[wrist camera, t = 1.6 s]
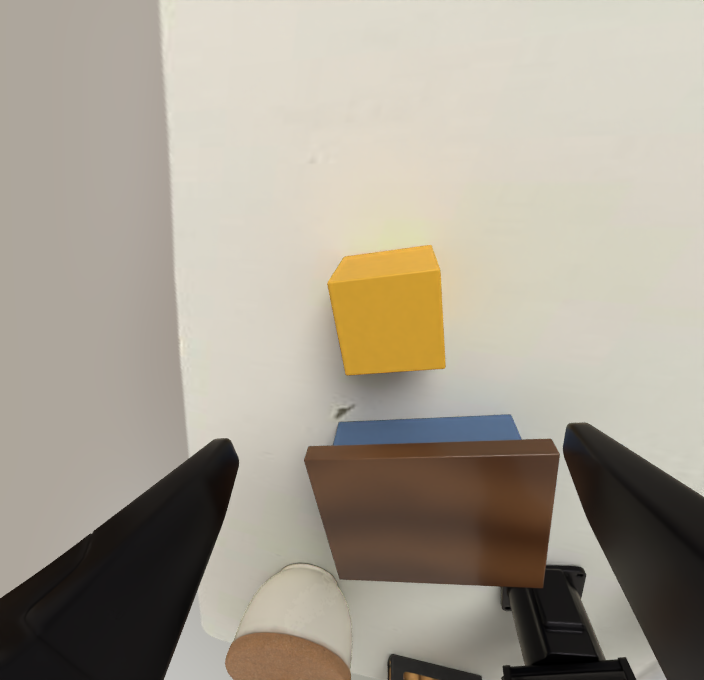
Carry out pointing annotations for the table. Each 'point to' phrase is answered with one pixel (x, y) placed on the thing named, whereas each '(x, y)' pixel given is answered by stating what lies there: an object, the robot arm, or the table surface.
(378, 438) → the blue box
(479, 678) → the ammunition clip
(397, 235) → the table surface
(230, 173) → the table surface
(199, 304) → the table surface
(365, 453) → the board
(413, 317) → the yellow block
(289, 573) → the trinket box
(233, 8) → the table surface
